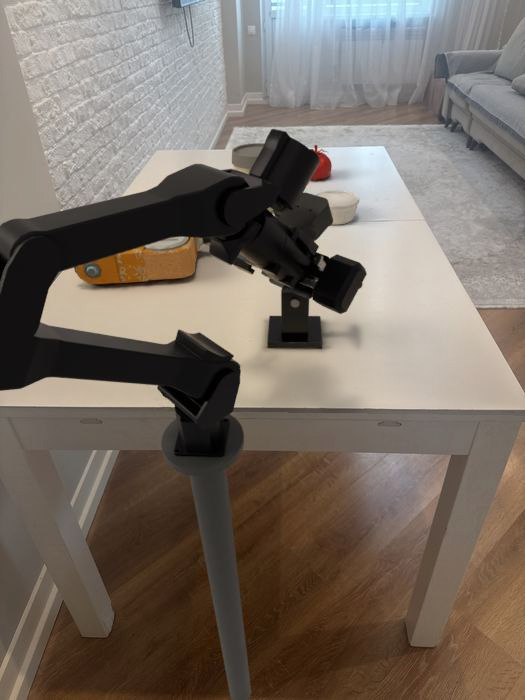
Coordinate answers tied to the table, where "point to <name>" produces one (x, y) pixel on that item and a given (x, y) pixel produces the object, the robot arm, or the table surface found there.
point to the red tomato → (322, 166)
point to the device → (146, 262)
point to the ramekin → (341, 205)
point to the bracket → (294, 324)
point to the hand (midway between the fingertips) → (320, 288)
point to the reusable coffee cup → (246, 157)
